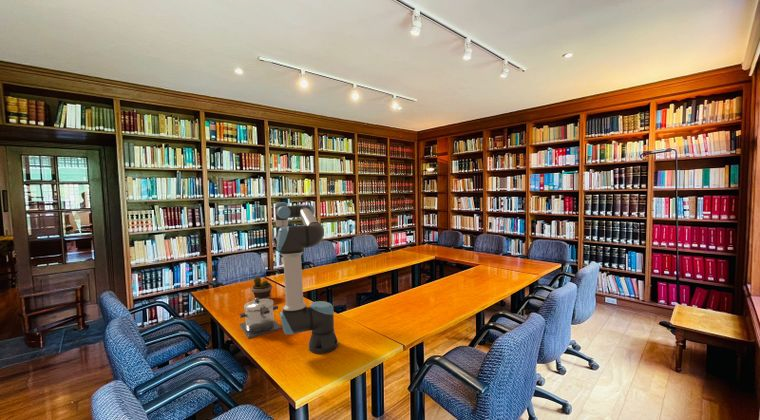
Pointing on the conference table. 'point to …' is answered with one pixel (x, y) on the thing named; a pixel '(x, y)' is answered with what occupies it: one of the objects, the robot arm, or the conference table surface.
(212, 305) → the conference table surface
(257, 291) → the flowerpot
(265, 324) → the cooker
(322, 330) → the robot arm
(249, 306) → the lid
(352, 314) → the conference table surface
